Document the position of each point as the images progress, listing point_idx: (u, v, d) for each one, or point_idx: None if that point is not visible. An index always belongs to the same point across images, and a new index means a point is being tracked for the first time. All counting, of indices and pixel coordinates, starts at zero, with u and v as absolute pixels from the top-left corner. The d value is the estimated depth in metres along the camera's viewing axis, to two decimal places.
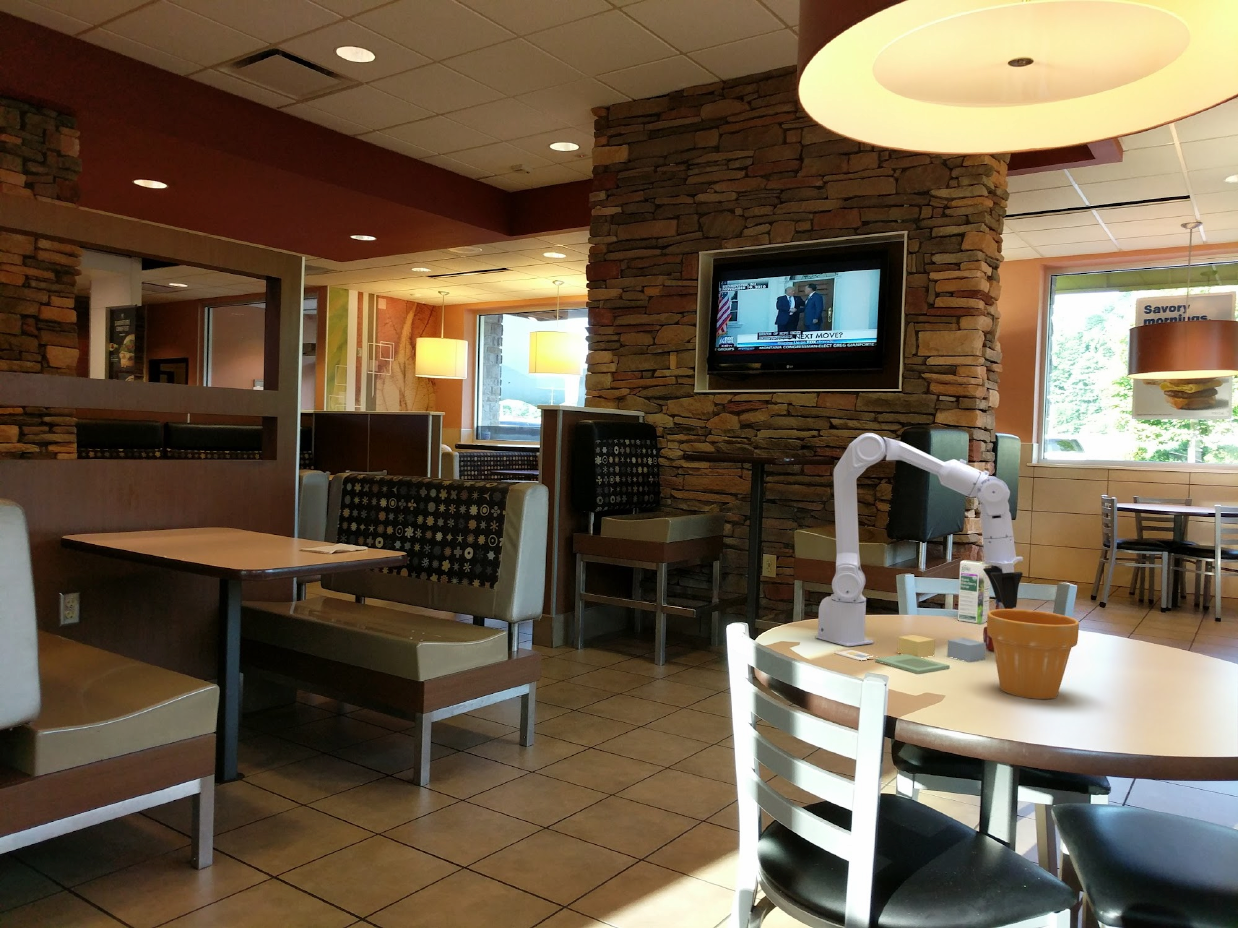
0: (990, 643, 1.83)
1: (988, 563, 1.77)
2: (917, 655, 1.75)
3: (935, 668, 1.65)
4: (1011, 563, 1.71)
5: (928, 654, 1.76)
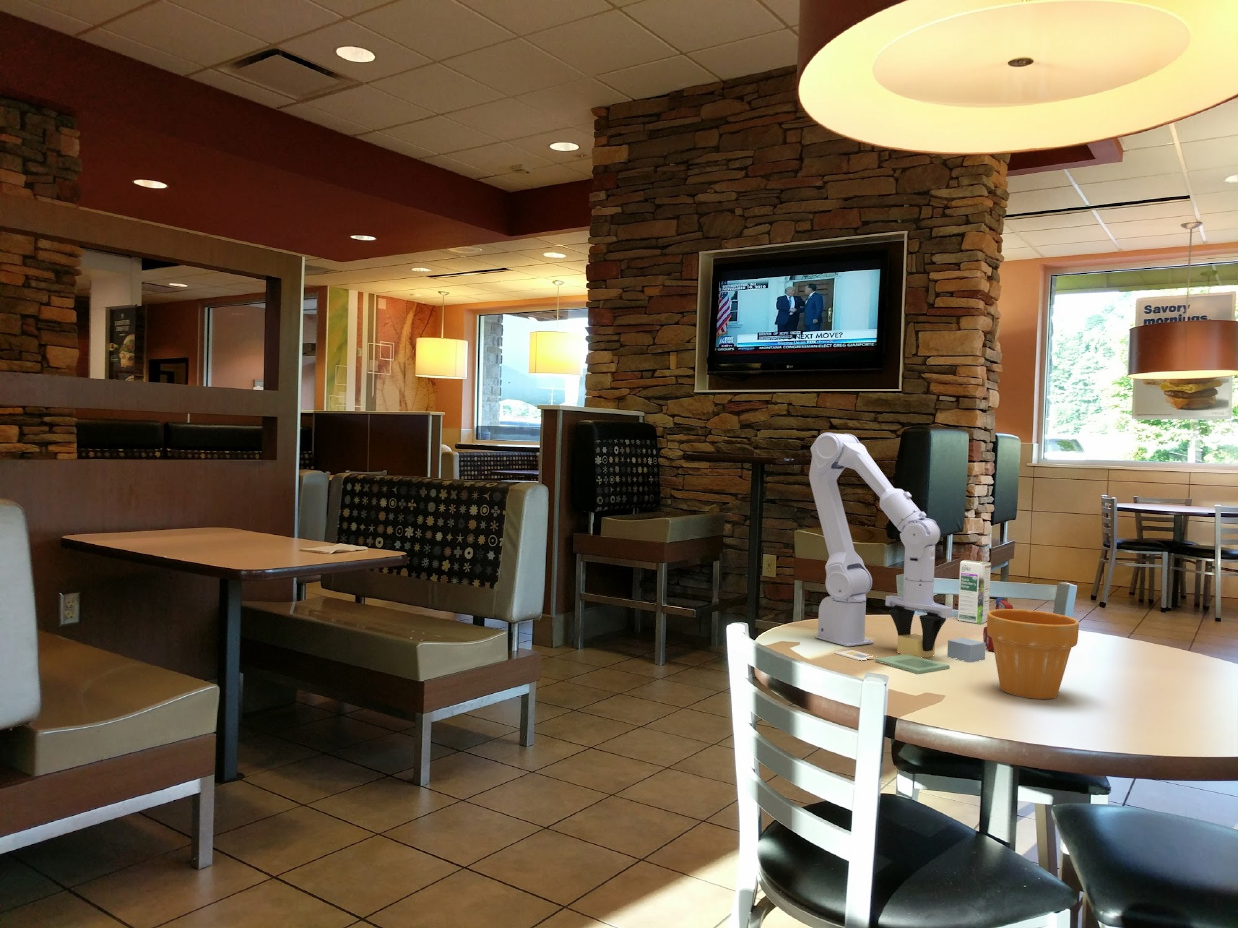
0: (990, 643, 1.83)
1: (916, 606, 1.75)
2: (917, 654, 1.75)
3: (935, 668, 1.65)
4: (951, 608, 1.72)
5: (928, 653, 1.76)
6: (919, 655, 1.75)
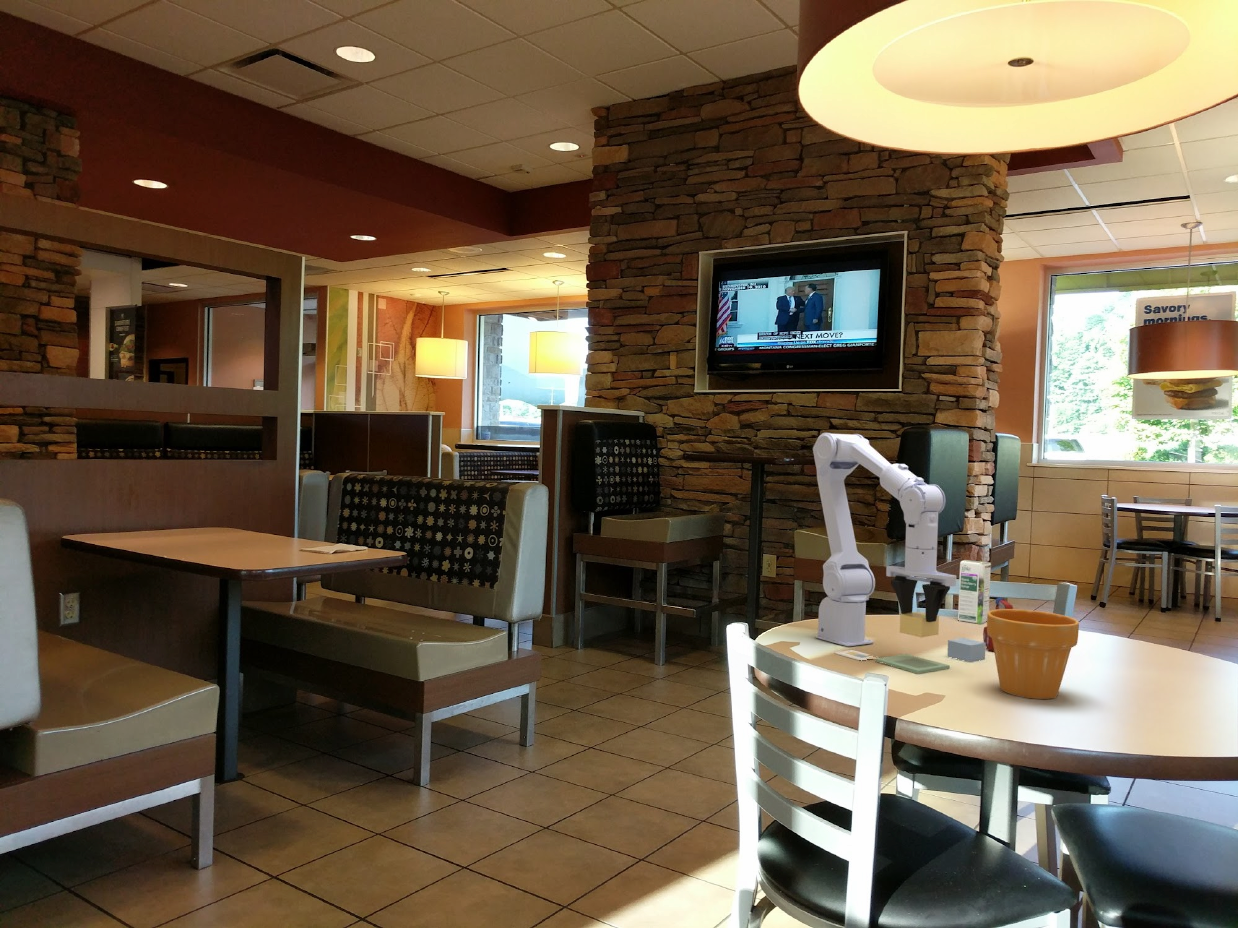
0: (990, 643, 1.83)
1: (918, 575, 1.68)
2: (921, 633, 1.68)
3: (935, 668, 1.65)
4: (955, 576, 1.65)
5: (932, 631, 1.69)
6: (923, 634, 1.68)
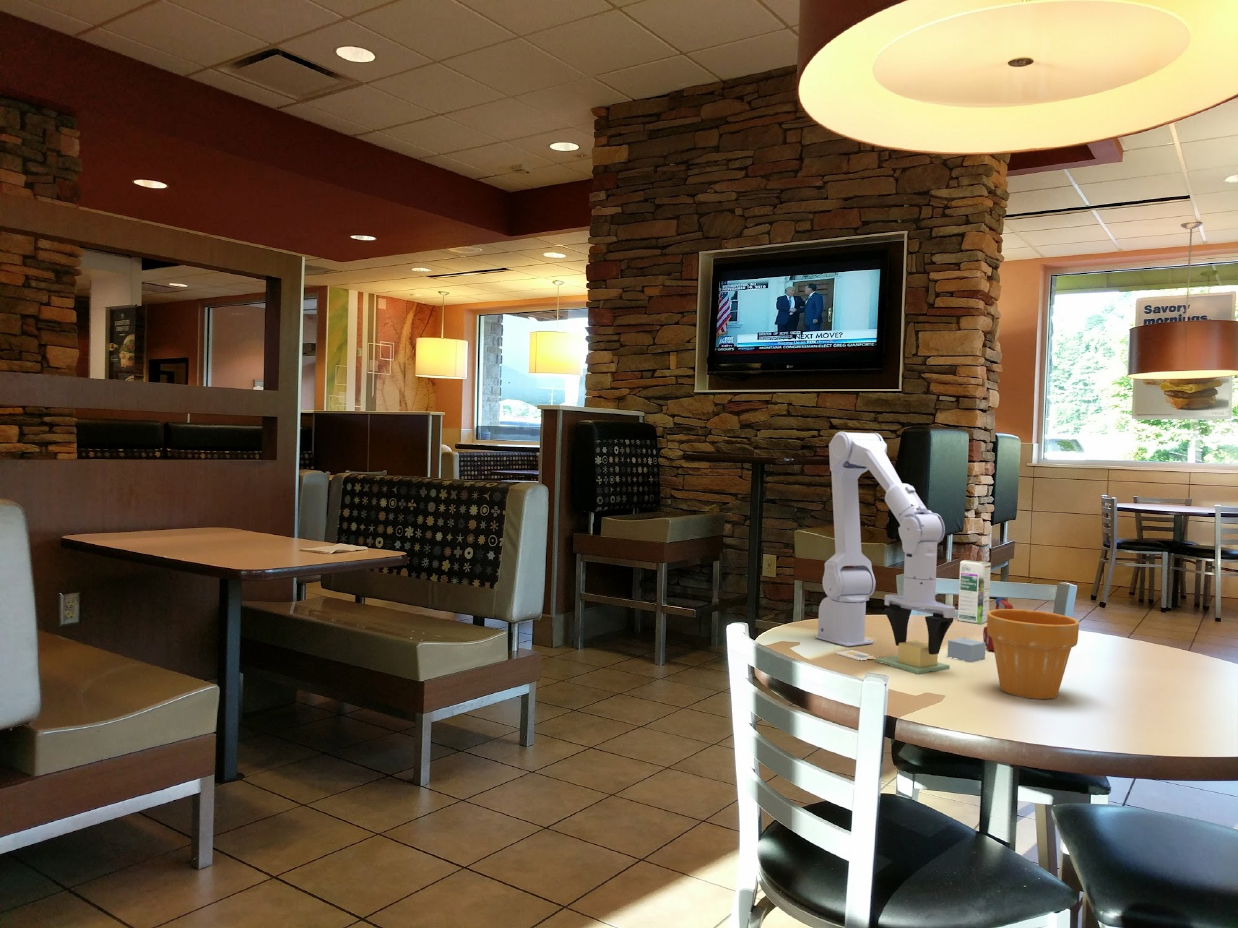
0: (990, 643, 1.83)
1: (916, 605, 1.65)
2: (919, 662, 1.65)
3: (935, 668, 1.65)
4: (954, 608, 1.62)
5: (931, 661, 1.67)
6: (922, 663, 1.65)
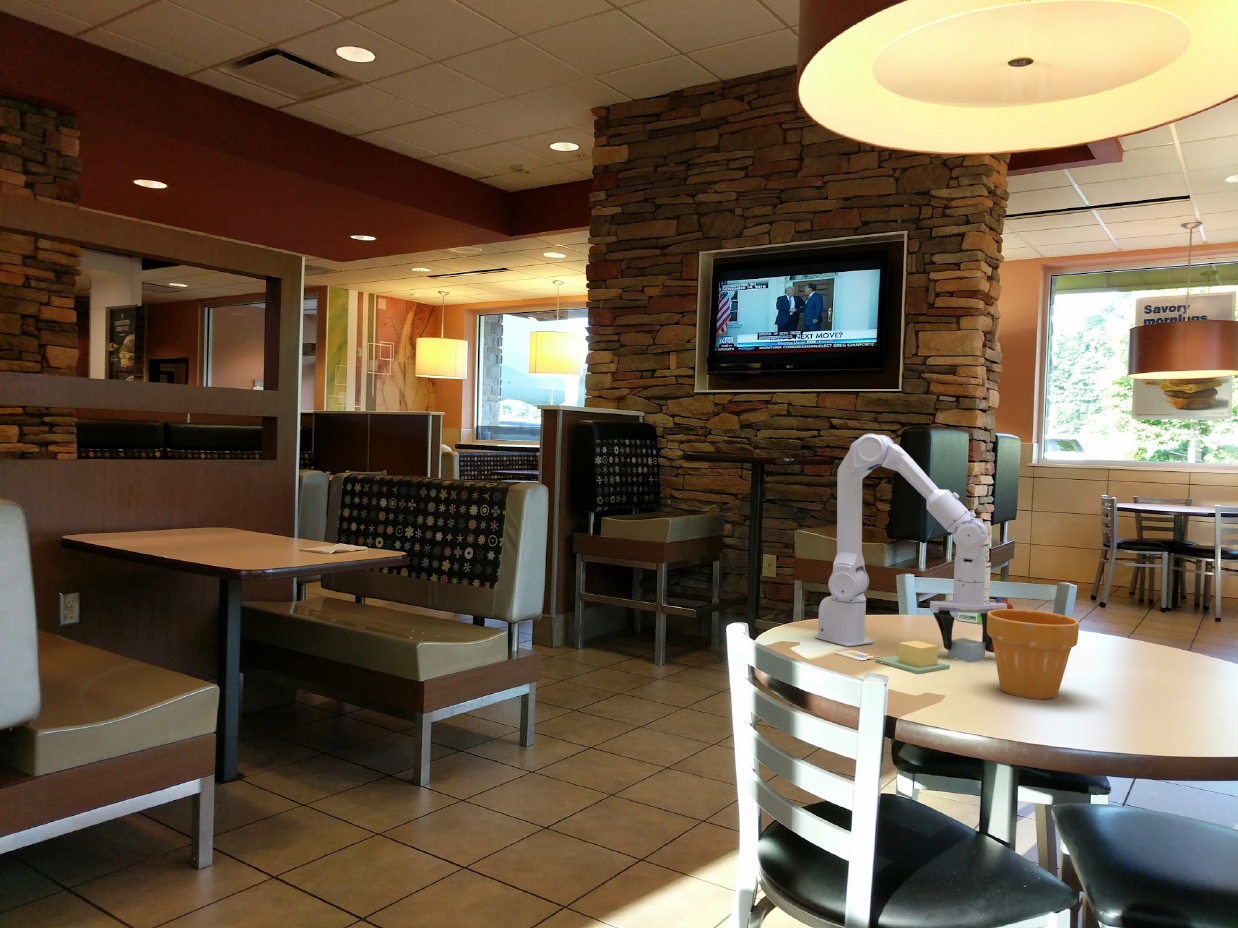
0: None
1: (982, 608, 1.74)
2: (919, 662, 1.65)
3: (935, 668, 1.65)
4: None
5: (931, 661, 1.67)
6: (922, 663, 1.65)
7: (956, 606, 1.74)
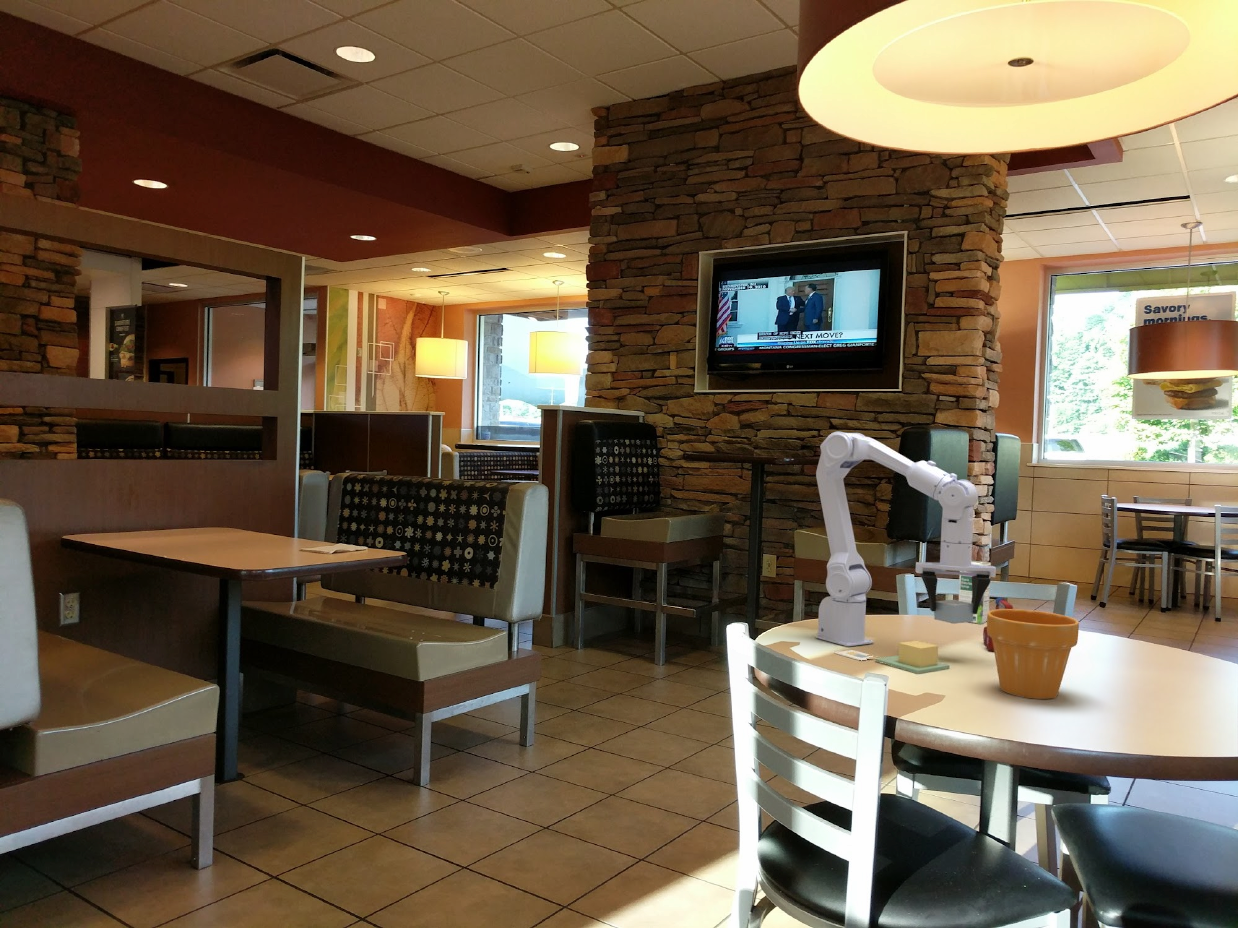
0: (990, 643, 1.83)
1: (967, 569, 1.71)
2: (919, 662, 1.65)
3: (935, 668, 1.65)
4: (993, 567, 1.73)
5: (931, 661, 1.67)
6: (922, 663, 1.65)
7: (940, 567, 1.72)
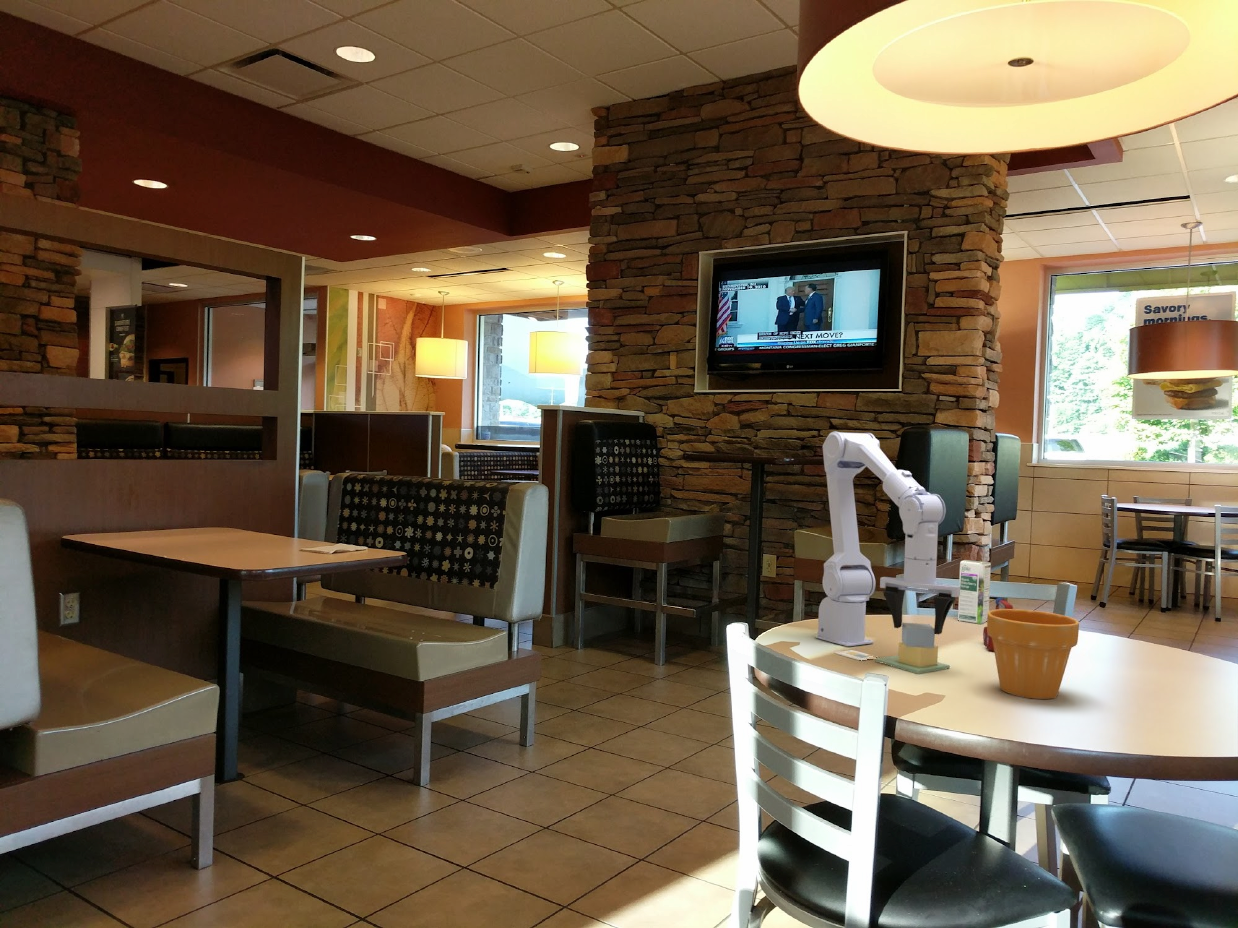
0: (990, 643, 1.83)
1: (923, 586, 1.65)
2: (919, 662, 1.65)
3: (935, 668, 1.65)
4: None
5: (931, 661, 1.67)
6: (922, 663, 1.65)
7: (898, 583, 1.68)
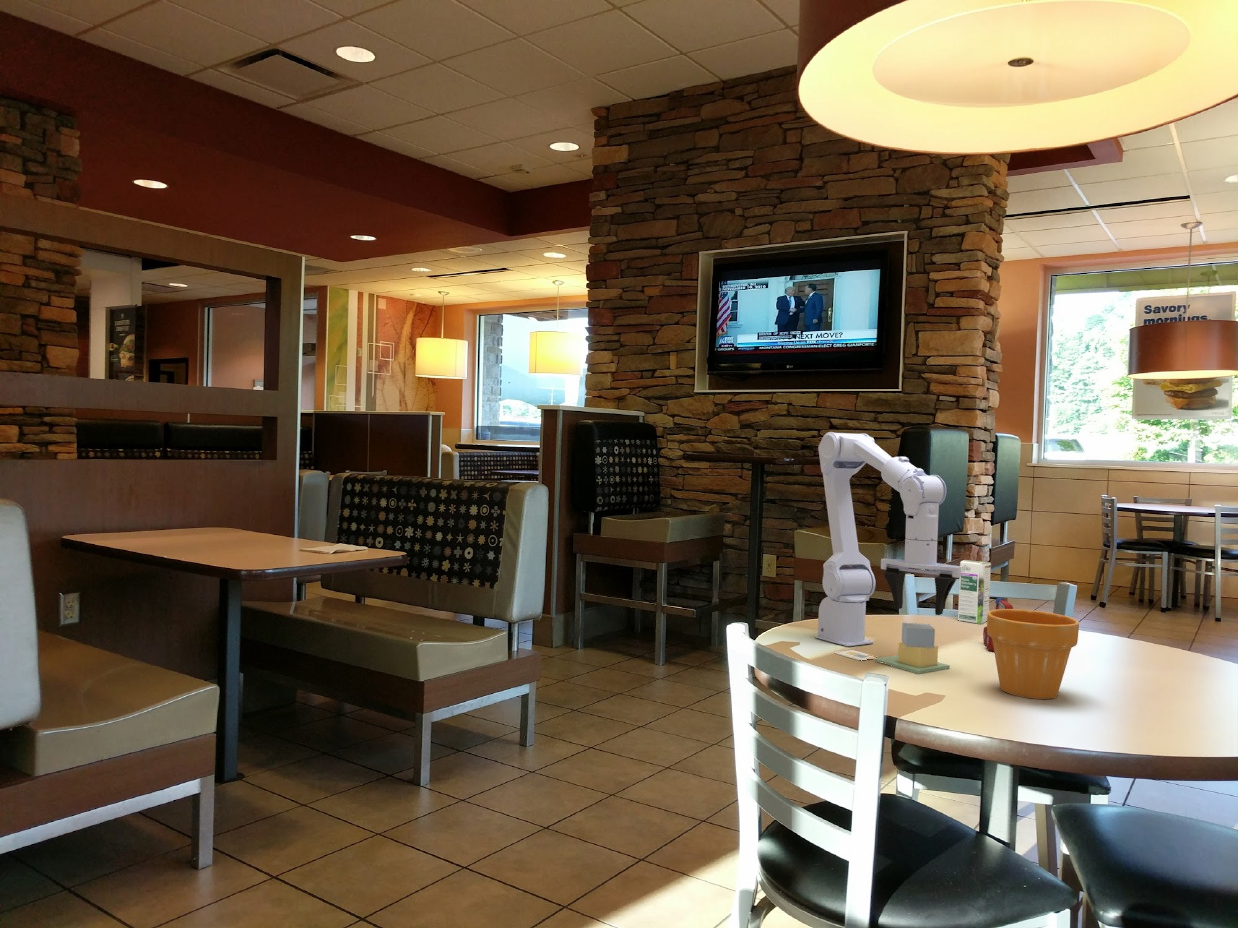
0: (990, 643, 1.83)
1: (924, 567, 1.65)
2: (919, 662, 1.65)
3: (935, 668, 1.65)
4: (960, 567, 1.64)
5: (931, 661, 1.67)
6: (922, 663, 1.65)
7: (899, 564, 1.68)
